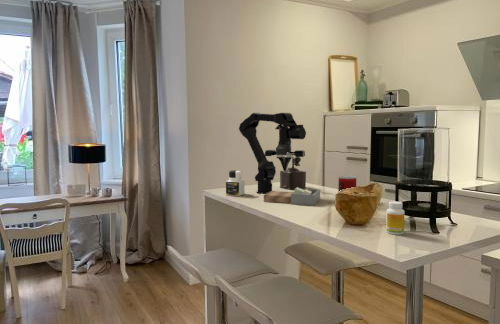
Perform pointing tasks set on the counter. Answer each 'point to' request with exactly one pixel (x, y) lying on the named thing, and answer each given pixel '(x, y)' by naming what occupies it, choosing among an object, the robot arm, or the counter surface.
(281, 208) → the counter surface
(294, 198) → the box
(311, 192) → the cream tile
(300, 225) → the counter surface
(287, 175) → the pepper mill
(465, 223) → the counter surface
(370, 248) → the counter surface
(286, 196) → the riser board
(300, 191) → the sage tile
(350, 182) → the canned food
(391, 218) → the supplement bottle
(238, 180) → the medicine bottle
